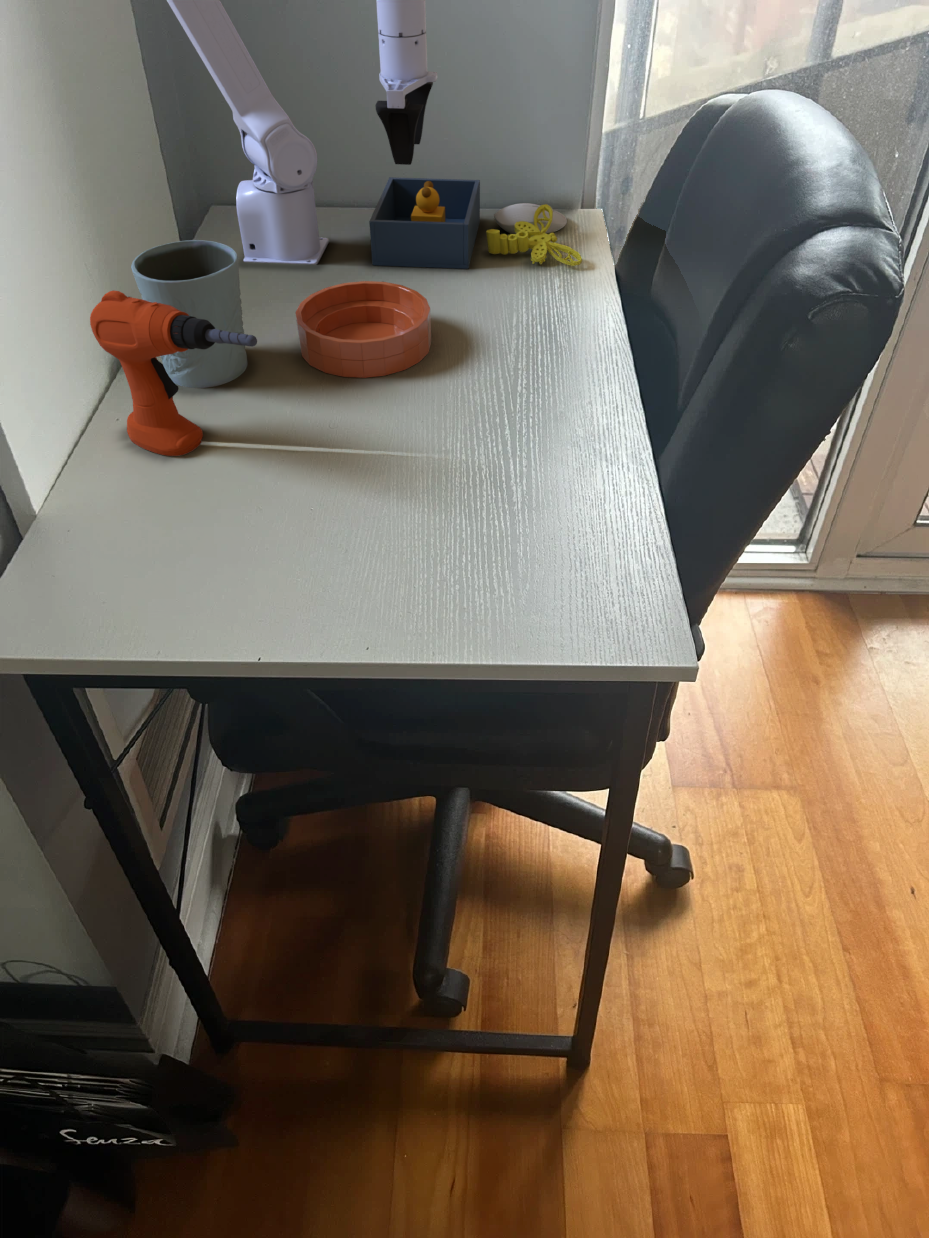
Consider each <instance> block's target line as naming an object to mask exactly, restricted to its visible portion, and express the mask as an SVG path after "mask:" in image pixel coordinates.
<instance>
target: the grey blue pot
mask: <svg viewBox="0 0 929 1238" xmlns="http://www.w3.org/2000/svg"><path fill="white" fill-rule="evenodd" d="M130 266H131V272H132V274H133V277H134V281H135V283H136V286H137V288H138V292H139V293H140V295H141V299H142V300H146V301H149V302H152V303H153V302H157V303H161V304H165V305H170V306H172V307H174V308H176V309H178V310H179V311H181V312H185V313H187V314H188V315H189V316H193V317H196V318H197V319H205V320H208V321H209V322H210V323H211V324H212V325H213V326H214V327H215V329H218V330H222V331H228V332H231V333H232V332H233V333H239V334H245V328H244V327H243V326H244V321H243V308H242V299H241V295H242V294H241V286H240V285H241V284H240V283H241V282H240V281H241V280H240V267H239V256H238V254H237V252H236V250H234V248H232V246H229V245H227V244H224V243H221V242H217V241H212V240H202V239H200V240H199V239H190V240H189V239H188V240H179V241H172V242H168V243H164V244H160V245H156V246H153V247H151V248H148V249H146V250H144V251H143V252H140V254H138V255H137V256H135V258H134V259H133V260H132V263H131V265H130ZM245 348H246V346H244V345H235V344H227V343H222V344H219V343H216V342H215V344H214V345H212V346H211V347H209V348H208V349H197V348H195V349H188V350H186V351H184V352H176V353H173V354H170V355H163V356H160V359H161V363H162V364H163V366H164V368H165V370H166V372H167V374H168V375H169V377H170V378H171V380H172V381H173V382H174V383H175V384H176V385H177V386H180V387H185V388H191V389H204V388H212V387H219V386H221V385H224V384H228V383H229V382H232V381H234V380H235V379H237V378H239V377H240V376H241V375H243V374H244V373H245V371H246V370H247V368H248V356H247V351H246V349H245Z"/></svg>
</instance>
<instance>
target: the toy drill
mask: <svg viewBox="0 0 929 1238" xmlns="http://www.w3.org/2000/svg"><path fill="white" fill-rule="evenodd" d="M89 324H90V328H91V331H92V334H93V337H94V338H95V340H96V341H97V343H98V345H99V346H100V347H101V349H103V351H105V352H106V353H108V354H109V355H111V356H113V357H114V358H116V359H117V360H119V363H120V365H121V367H122V370H123V372H124V375H125V379H126V381H127V385H128V387H129V390H130V395H131V399H132V412H131V413H129V414H128V416H127V419H126V432H127V435H128V438H129V440H130V442H132V443H133V444H134V445H136V446H138V447H140V448H141V449H144V450H146V451H149V452H152V453H154V454H158V455H162V456H166V457H167V456H168V457H179V456H183V455H187V454H189V453H191V452H193V451H195V450H196V449H197V448H198V447H200V445H201V444H202V442H203V440H202V439H203V437H204V434H203V430H202V428H201V427H200V426H198V425H197V424H195V423H194V422H193V421H191V420H189V419H188V418H186V417H185V416H184V415H182V414H180V413H179V410H178V409H177V406H176V403H175V401H174V396H175V395H177V393H178V392H179V385H177V384H175V383H174V382H173V381H172V380H171V378H170V377H169V375H168V374H167V372H166V370H165V368H164V366H163V362H162V361H160V360H159V359H158V357H161V356H163V355H170V354H173V353H176V352H184V351H186V350H188V349H195V348H197V349H208V348H209V347H211V346H212V345H214V344H215V342H216V343H219V344H222V343H227V344H235V345H244V346H245V347H252V348H253V347H255V346H256V345H257V344H258V338H257V337H256V336H255V335H253V334H247V333H244V334H239V333H233V332H232V333H231V332H228V331H222V330H218V329H215V327H214V326H213V325H212V324H211V323H210V322H209V321H208V320H205V319H197V318H196V317H193V316H189V315H188V314H187V313H185V312H181V311H179V310H178V309H176V308H174V307H172V306H170V305H165V304H161V303H157V302H153V303H152V302H149V301H146V300H142V298H136V297H132V296H127V295H126V294H125V293H124V292H122V291H120V290H114V289H113V290H109V291H107V292H106V293H105V294H104V295H103V296H102V297H101V300H100V301H99V302H98V303H97V304H96V305H95V306H94V308H93V309H92V311H91V313H90V316H89Z"/></svg>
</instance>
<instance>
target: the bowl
mask: <svg viewBox="0 0 929 1238" xmlns="http://www.w3.org/2000/svg"><path fill="white" fill-rule="evenodd" d="M294 314H295V320H296V327H297V334H298V343H299V349H300V355H301V357H302V359H304V361H305V362H306V363H307V364H308V365H309V366H311V367H313V368H314V369H316V370H318V371H321V372H323V373H325V374H329V375H333V376H337V377H343V378H359V379H366V378H367V379H368V378H376V377H384V376H389V375H392V374H395V373H399V372H402V371H406V370H408V369H409V368H411V367H413V366H415V365H417V364H418V363H420V362H421V361H422V360H423V359H424V358H425V357H426V356H427V355H428V354H429V352H430V348H431V345H432V320H431V319H432V318H431V307H430V304H429V302H428V300H427V298H426V297H425V296H424V295H422V294H421V293H420V292H419V291H417V290H415V289H412V288H410V287H408V286H405V285H403V284H398V283H394V282H388V281H375V280H373V281H372V280H361V281H350V282H342V283H338V284H335V285H329V286H326V287H325V288H322V289H320V290H317V291H316V292H313V293H310V295H308V296H307V297H306V298H305V299H303V300H302V301H301V302H300V303H299V305H298V306H297V309H296V310H295V313H294Z"/></svg>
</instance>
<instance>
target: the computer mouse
mask: <svg viewBox="0 0 929 1238" xmlns="http://www.w3.org/2000/svg"><path fill="white" fill-rule="evenodd" d="M539 206H541V205H540V204H535V203H527V202H526V203H525V202H524V203H523V202H521V203H515V204H510V205H507V206H505V207H503V208H501V209H499V210H498V211H496V212H495V213H494V214H493V219H494V220H495V222H496V223H497V225H498V226H499V227H500V228H501V229H502V230H503V231H504V232H507V233H508V234H516V232H514V230H515V223H516V222H519V221H525V222H528V223H531V224H533V225H534V214H535V211H536V210H537V208H538V207H539ZM551 209H552V211H553V218H552V222H551V225H550V227H549V228H548V230H547V231H546V232H545V233H546V234H550V233H555V232H557V231H559V230H562V229H563V228H564V227H565V226H566V225H567V224H568V220H567V217H566V215H564V214H563V213H561V212H559V211H557V210H555V209H553V207H551ZM545 215H546V216H547V218H550V217H549V212H547V211H545ZM538 218H540V219H541V218H544V217H543V213H542V212H541V213H540V215H539V216H538ZM540 221H541V220H540ZM541 222H542V223H543V224H544V228H545V227H546V225H547V223H548V221H541ZM537 225H538V228H539V230H540V231H541V229H542V227H541V225H540V224H538V223H537Z"/></svg>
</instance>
